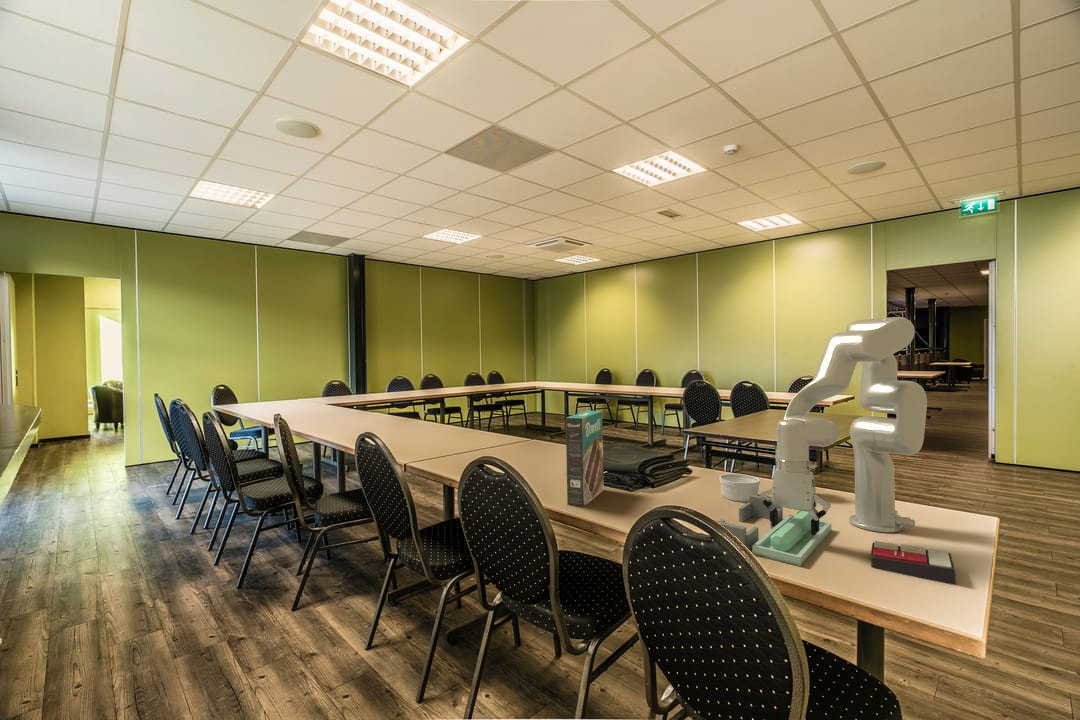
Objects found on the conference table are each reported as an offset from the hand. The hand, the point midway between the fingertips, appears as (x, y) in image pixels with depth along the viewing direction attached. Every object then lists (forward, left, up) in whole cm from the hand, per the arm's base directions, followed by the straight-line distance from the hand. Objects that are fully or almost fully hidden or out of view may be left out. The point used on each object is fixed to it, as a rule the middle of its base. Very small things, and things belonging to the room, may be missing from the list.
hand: (794, 529), depth 128 cm
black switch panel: (-25, -1, -4) cm, 25 cm away
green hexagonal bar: (0, 0, -3) cm, 3 cm away
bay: (+12, 0, -3) cm, 12 cm away
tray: (0, 0, -3) cm, 3 cm away
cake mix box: (+68, +3, -4) cm, 68 cm away
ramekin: (+26, -31, -4) cm, 41 cm away
